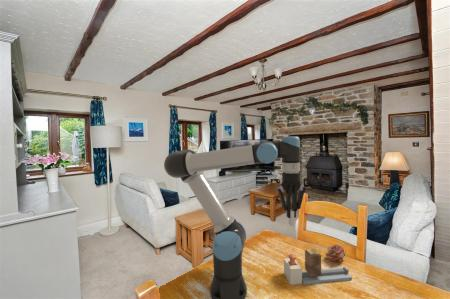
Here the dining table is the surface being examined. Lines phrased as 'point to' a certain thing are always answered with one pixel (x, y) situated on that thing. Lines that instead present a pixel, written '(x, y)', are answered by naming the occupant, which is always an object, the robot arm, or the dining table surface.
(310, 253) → the carriage
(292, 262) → the plunger
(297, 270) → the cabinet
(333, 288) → the dining table surface
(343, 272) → the rail board
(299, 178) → the robot arm
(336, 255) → the flower
